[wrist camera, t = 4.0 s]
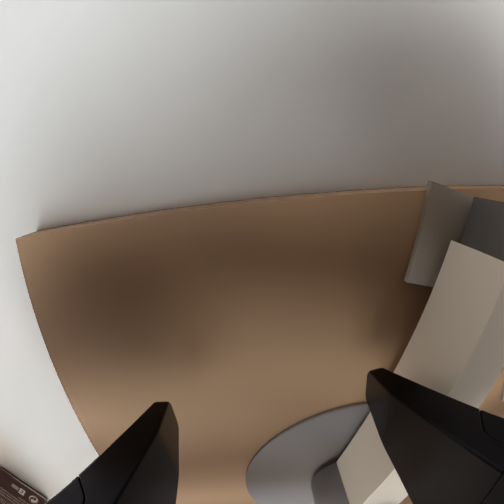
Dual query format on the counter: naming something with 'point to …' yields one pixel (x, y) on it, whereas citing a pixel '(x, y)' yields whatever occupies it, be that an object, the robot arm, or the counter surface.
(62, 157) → the counter surface
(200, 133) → the counter surface
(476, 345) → the dial lever
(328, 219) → the dial board
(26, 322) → the counter surface
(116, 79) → the counter surface
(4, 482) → the box
